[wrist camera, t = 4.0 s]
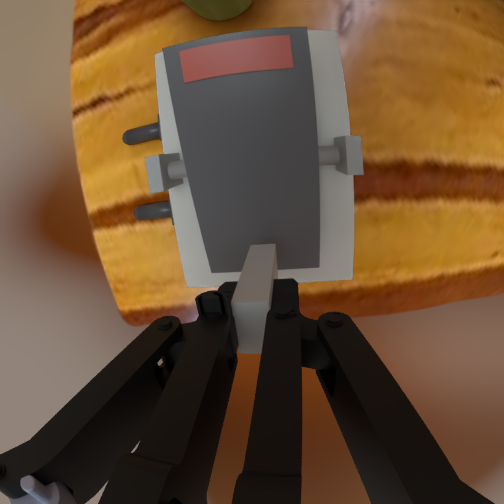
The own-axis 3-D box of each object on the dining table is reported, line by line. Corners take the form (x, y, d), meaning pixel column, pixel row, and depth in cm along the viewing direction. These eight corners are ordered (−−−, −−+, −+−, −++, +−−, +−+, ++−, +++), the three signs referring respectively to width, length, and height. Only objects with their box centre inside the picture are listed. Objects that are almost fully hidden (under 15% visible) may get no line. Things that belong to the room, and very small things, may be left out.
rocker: (325, 31, 12) (331, 26, 11) (333, 253, 21) (337, 267, 20) (152, 55, 13) (141, 54, 12) (199, 261, 22) (194, 275, 21)
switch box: (324, 53, 21) (345, 9, 11) (339, 252, 27) (363, 303, 18) (123, 87, 23) (63, 72, 14) (149, 263, 30) (104, 308, 21)
